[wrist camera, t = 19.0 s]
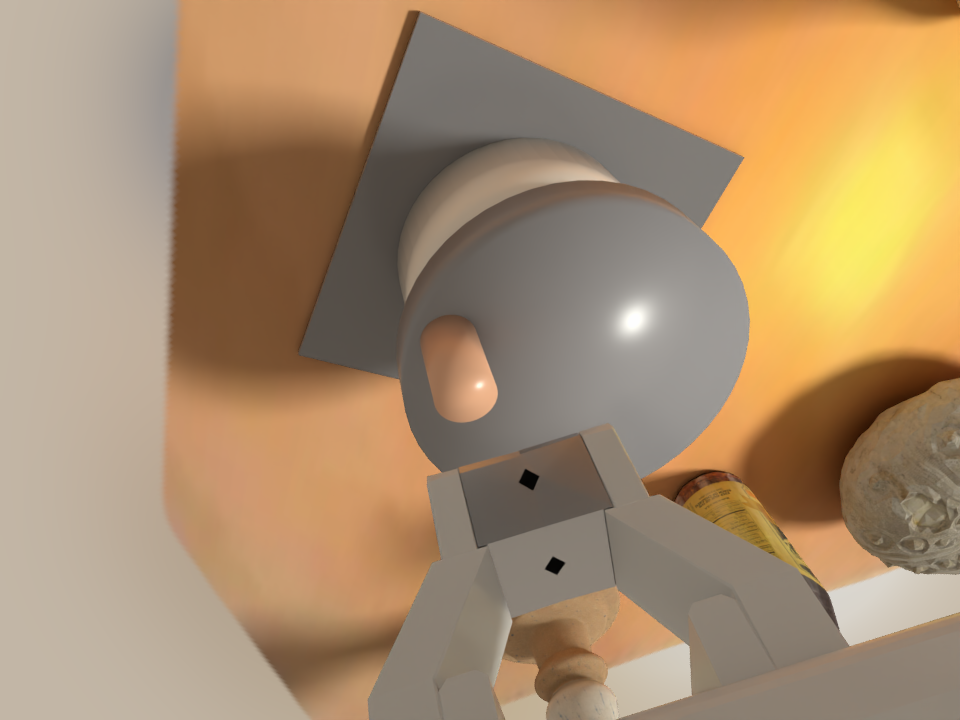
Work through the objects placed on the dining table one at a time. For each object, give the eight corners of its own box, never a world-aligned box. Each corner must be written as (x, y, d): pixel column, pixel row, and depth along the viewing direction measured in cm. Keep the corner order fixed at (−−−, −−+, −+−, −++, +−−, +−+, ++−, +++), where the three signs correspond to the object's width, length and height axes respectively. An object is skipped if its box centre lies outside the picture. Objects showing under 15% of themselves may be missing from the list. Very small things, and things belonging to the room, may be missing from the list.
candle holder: (462, 583, 58) (524, 863, 42) (609, 539, 59) (726, 798, 42) (492, 666, 65) (555, 933, 49) (622, 626, 66) (727, 877, 49)
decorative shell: (799, 535, 64) (872, 633, 55) (827, 374, 53) (921, 466, 45) (986, 486, 65) (1083, 574, 57) (1048, 320, 55) (1178, 399, 47)
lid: (783, 244, 34) (876, 316, 29) (620, 489, 41) (669, 585, 36) (478, 124, 28) (520, 187, 23) (350, 435, 35) (358, 540, 30)
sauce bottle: (736, 515, 60) (894, 752, 44) (665, 529, 59) (800, 776, 43) (748, 456, 56) (926, 691, 40) (672, 471, 56) (822, 717, 40)
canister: (419, 10, 34) (452, 51, 27) (740, 155, 42) (837, 219, 34) (298, 351, 43) (297, 454, 36) (581, 419, 51) (629, 517, 43)
